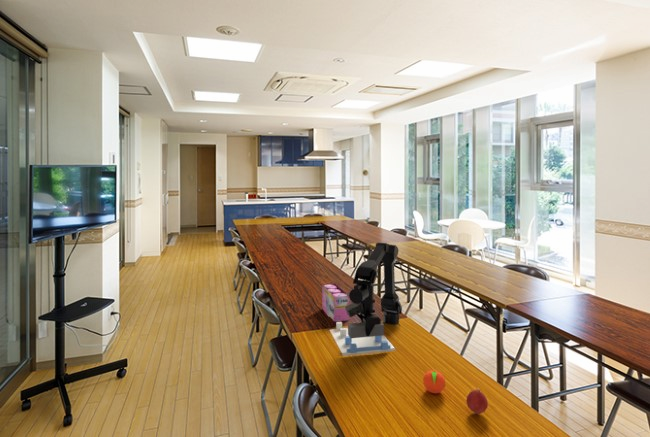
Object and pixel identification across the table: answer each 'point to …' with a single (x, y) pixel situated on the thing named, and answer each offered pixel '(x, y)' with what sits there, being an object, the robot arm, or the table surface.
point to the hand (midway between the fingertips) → (366, 333)
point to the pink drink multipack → (335, 302)
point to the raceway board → (359, 342)
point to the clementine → (434, 381)
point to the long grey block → (359, 330)
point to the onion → (477, 401)
